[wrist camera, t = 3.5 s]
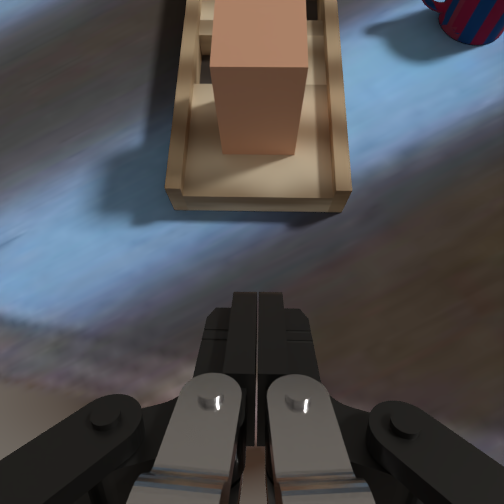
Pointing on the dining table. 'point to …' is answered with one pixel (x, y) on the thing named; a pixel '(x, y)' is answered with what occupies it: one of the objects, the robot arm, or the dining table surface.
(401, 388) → the dining table surface
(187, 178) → the tray
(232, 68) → the terracotta block
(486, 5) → the mug
